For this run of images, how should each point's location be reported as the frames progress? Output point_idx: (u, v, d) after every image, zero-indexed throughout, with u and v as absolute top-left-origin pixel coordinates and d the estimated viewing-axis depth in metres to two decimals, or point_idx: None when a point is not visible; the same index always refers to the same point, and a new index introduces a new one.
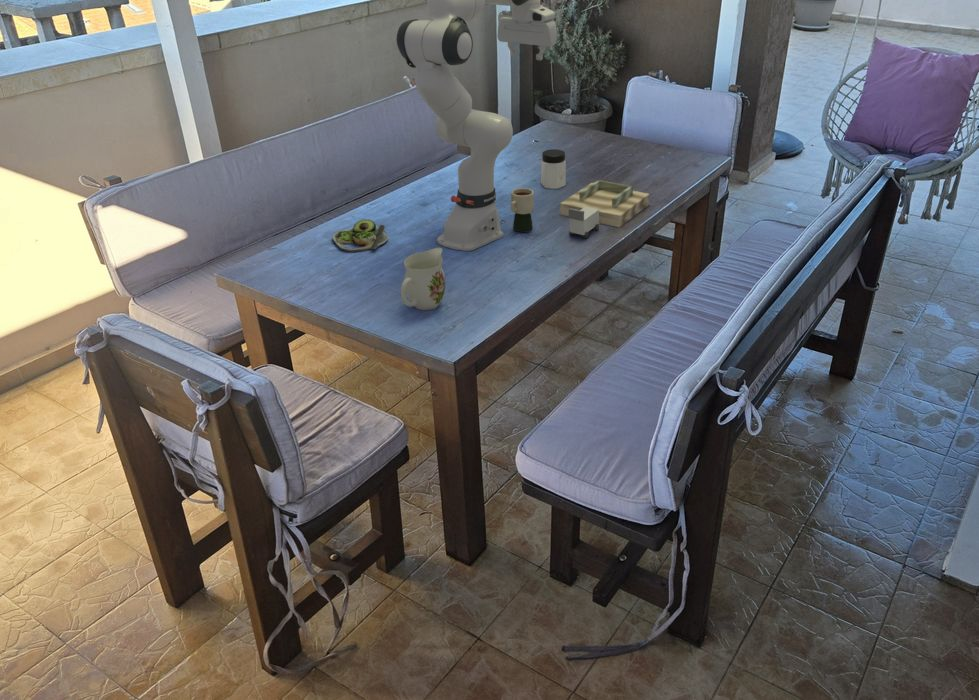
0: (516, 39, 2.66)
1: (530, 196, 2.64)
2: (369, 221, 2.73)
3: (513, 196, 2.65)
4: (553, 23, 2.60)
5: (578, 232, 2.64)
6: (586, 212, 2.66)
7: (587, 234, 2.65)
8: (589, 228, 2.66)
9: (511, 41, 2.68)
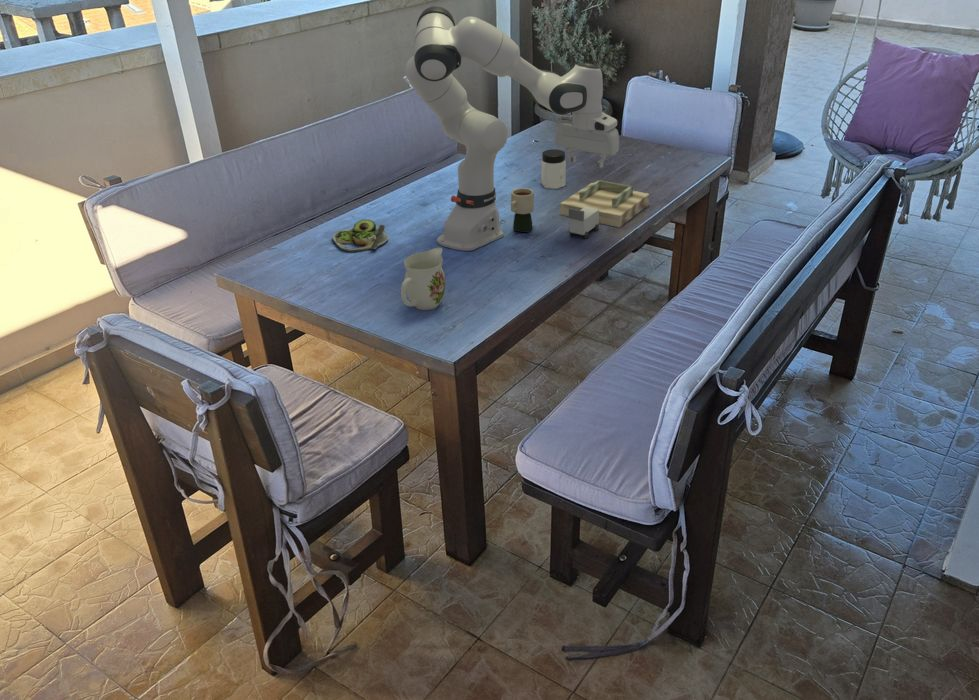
0: (575, 146, 2.55)
1: (530, 196, 2.64)
2: (369, 221, 2.73)
3: (513, 196, 2.65)
4: (616, 132, 2.48)
5: (578, 232, 2.64)
6: (586, 212, 2.66)
7: (587, 234, 2.65)
8: (589, 228, 2.66)
9: (570, 147, 2.56)
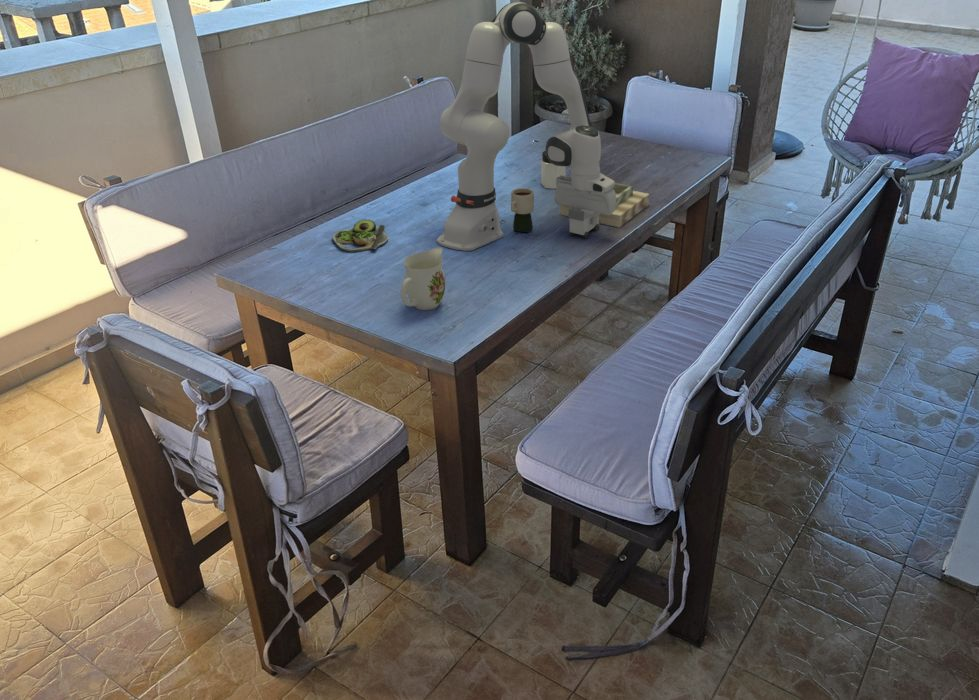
0: (574, 204, 2.64)
1: (530, 196, 2.64)
2: (369, 221, 2.73)
3: (513, 196, 2.65)
4: (613, 192, 2.58)
5: (578, 232, 2.64)
6: (586, 212, 2.66)
7: (587, 234, 2.65)
8: (589, 228, 2.66)
9: (569, 205, 2.66)
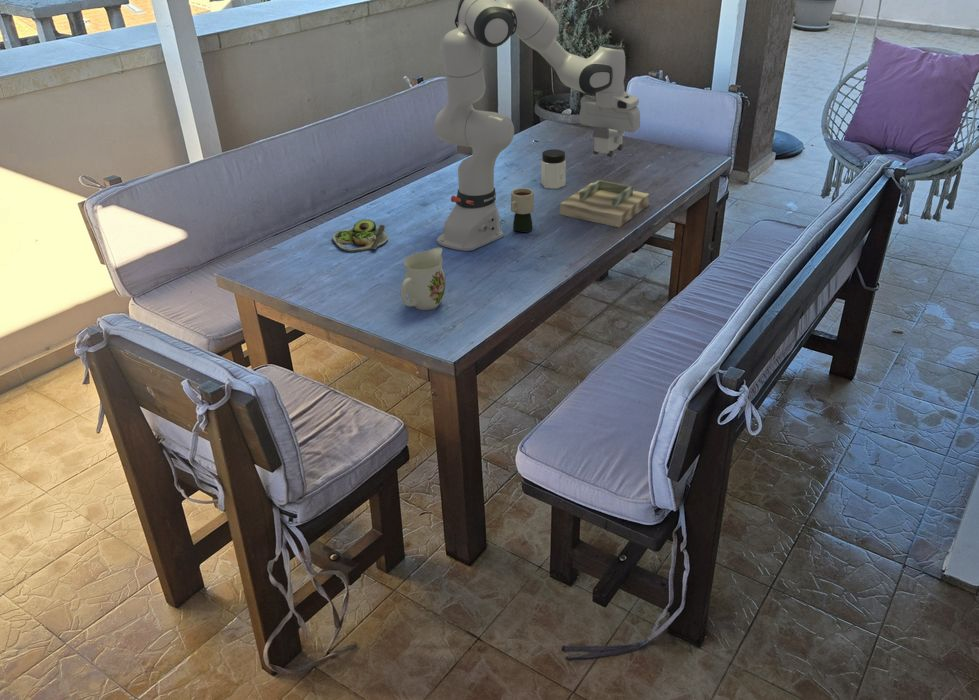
0: (599, 123, 2.69)
1: (530, 196, 2.64)
2: (369, 221, 2.73)
3: (513, 196, 2.65)
4: (637, 110, 2.63)
5: (602, 151, 2.70)
6: (611, 132, 2.71)
7: (611, 153, 2.70)
8: (613, 147, 2.71)
9: (593, 125, 2.71)
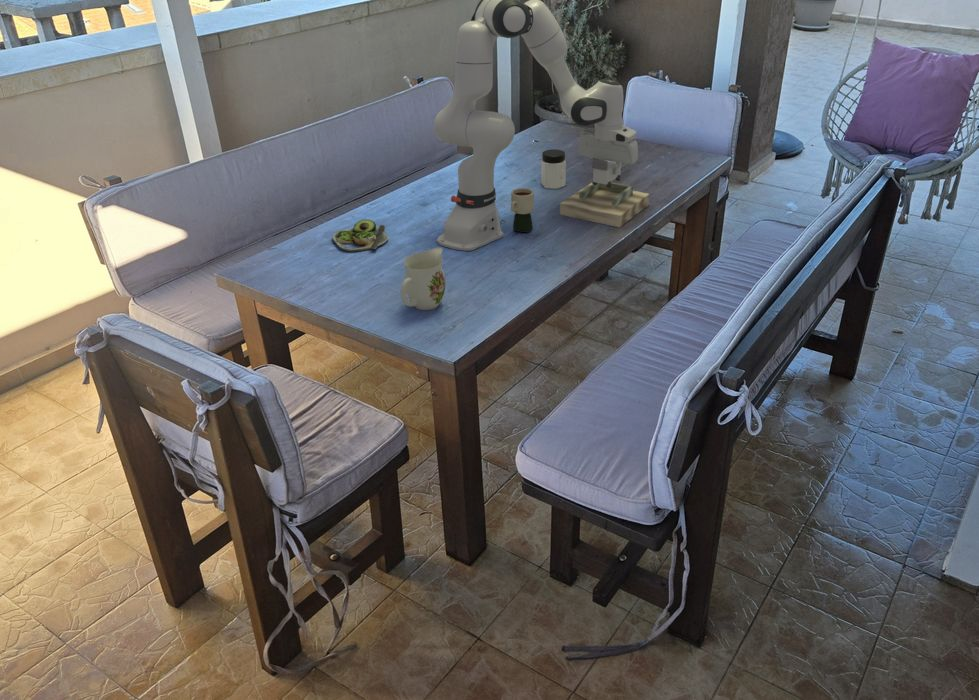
0: (597, 155, 2.76)
1: (530, 196, 2.64)
2: (369, 221, 2.73)
3: (513, 196, 2.65)
4: (635, 142, 2.69)
5: (601, 182, 2.76)
6: (609, 163, 2.78)
7: (610, 184, 2.76)
8: (612, 178, 2.77)
9: (592, 156, 2.77)
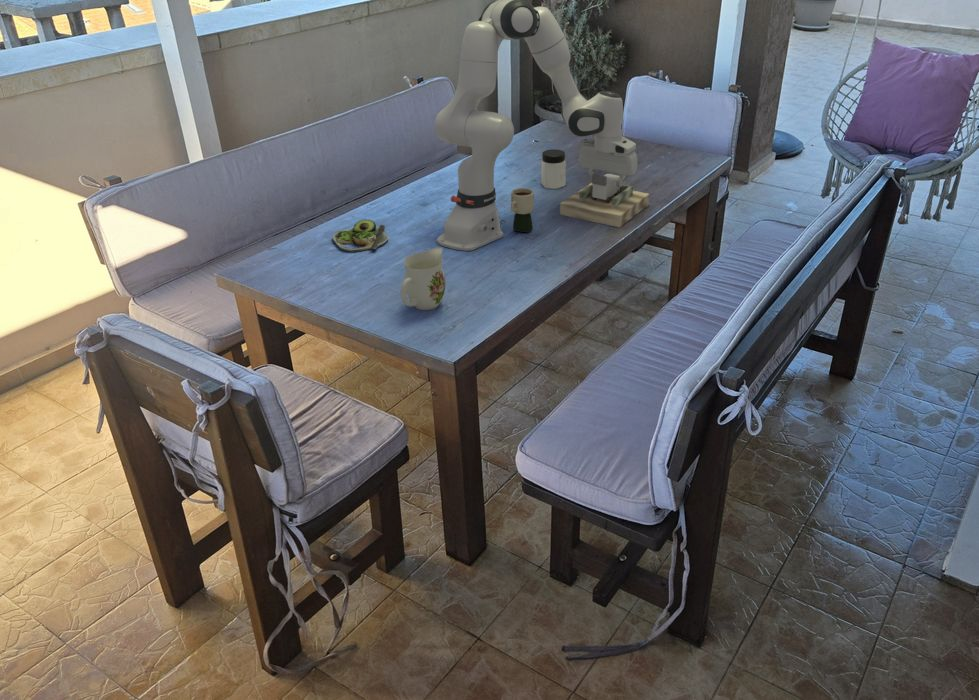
0: (597, 166, 2.77)
1: (530, 196, 2.64)
2: (369, 221, 2.73)
3: (513, 196, 2.65)
4: (634, 154, 2.71)
5: (600, 197, 2.78)
6: (609, 178, 2.80)
7: (609, 199, 2.79)
8: (611, 193, 2.80)
9: (592, 168, 2.79)
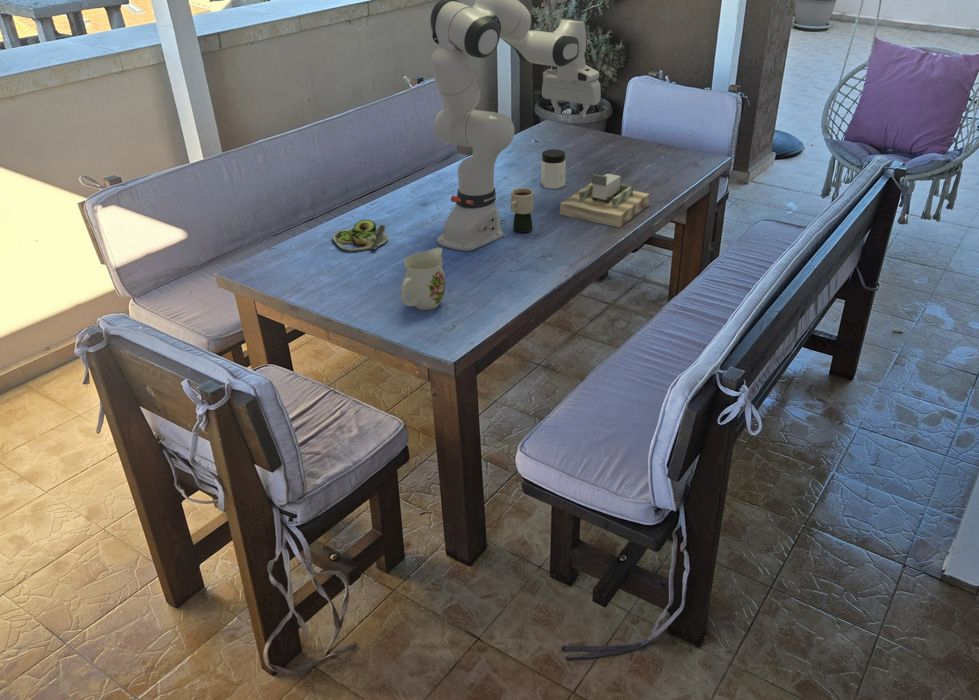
0: (560, 97, 2.73)
1: (530, 196, 2.64)
2: (369, 221, 2.73)
3: (513, 196, 2.65)
4: (597, 83, 2.66)
5: (600, 197, 2.78)
6: (609, 178, 2.80)
7: (609, 199, 2.79)
8: (611, 193, 2.80)
9: (555, 98, 2.74)
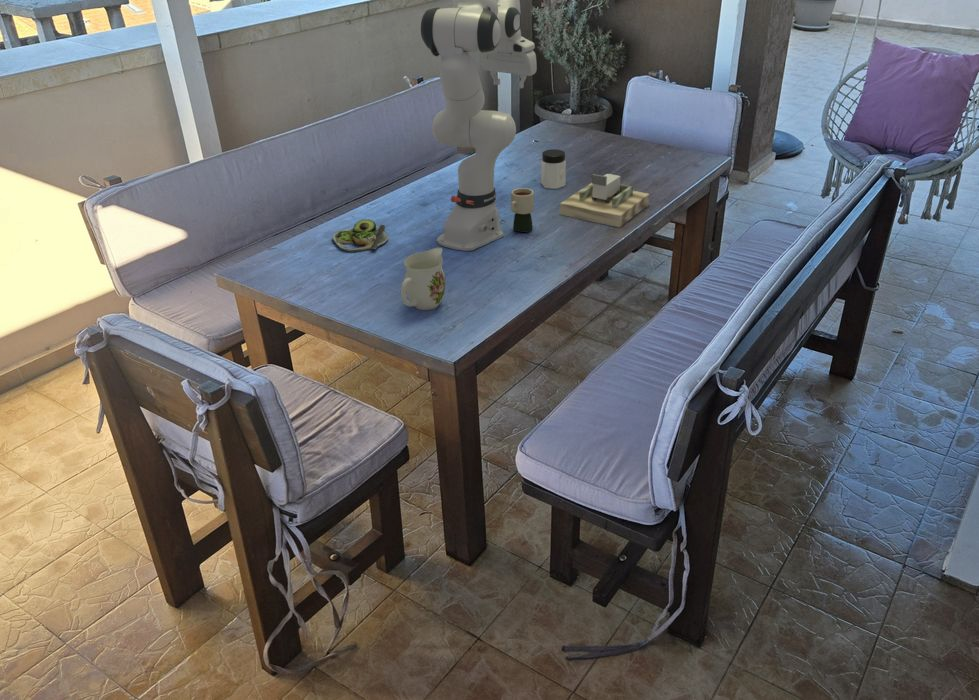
0: (498, 68, 2.80)
1: (530, 196, 2.64)
2: (369, 221, 2.73)
3: (513, 196, 2.65)
4: (533, 54, 2.73)
5: (600, 197, 2.78)
6: (609, 178, 2.80)
7: (609, 199, 2.79)
8: (611, 193, 2.80)
9: (493, 70, 2.81)
